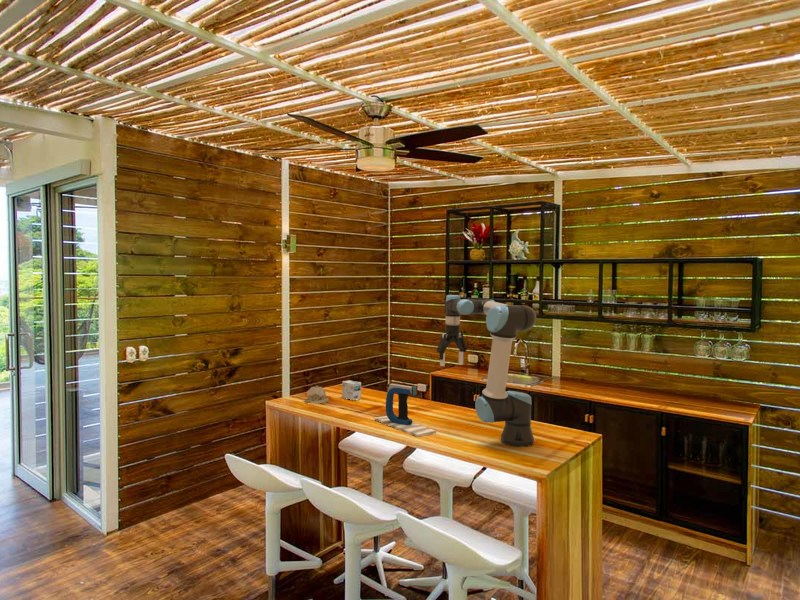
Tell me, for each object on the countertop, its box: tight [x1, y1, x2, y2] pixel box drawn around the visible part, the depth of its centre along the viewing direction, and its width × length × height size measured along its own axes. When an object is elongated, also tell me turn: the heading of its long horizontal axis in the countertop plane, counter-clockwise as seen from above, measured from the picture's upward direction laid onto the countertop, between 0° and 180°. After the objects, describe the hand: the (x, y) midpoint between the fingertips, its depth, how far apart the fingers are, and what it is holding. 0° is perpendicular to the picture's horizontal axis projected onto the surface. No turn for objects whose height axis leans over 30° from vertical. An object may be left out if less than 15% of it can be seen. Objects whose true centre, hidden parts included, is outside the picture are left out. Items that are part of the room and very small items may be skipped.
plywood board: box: [373, 415, 437, 438], centre depth 271 cm, size 36×12×1 cm, turn 37°
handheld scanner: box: [385, 383, 418, 425], centre depth 273 cm, size 5×16×20 cm, turn 61°
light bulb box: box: [341, 380, 362, 401], centre depth 331 cm, size 11×7×11 cm, turn 49°
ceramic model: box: [305, 385, 329, 404], centre depth 321 cm, size 14×11×10 cm
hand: (451, 365), depth 281 cm, fingers open, 13 cm apart
